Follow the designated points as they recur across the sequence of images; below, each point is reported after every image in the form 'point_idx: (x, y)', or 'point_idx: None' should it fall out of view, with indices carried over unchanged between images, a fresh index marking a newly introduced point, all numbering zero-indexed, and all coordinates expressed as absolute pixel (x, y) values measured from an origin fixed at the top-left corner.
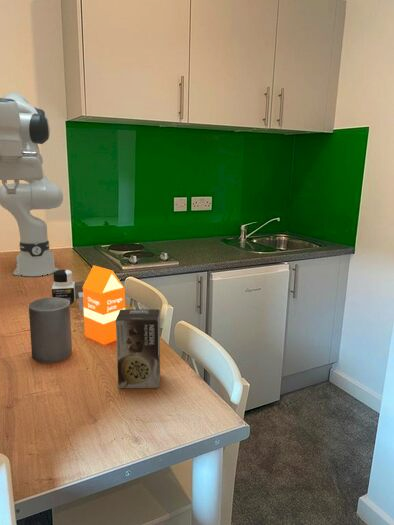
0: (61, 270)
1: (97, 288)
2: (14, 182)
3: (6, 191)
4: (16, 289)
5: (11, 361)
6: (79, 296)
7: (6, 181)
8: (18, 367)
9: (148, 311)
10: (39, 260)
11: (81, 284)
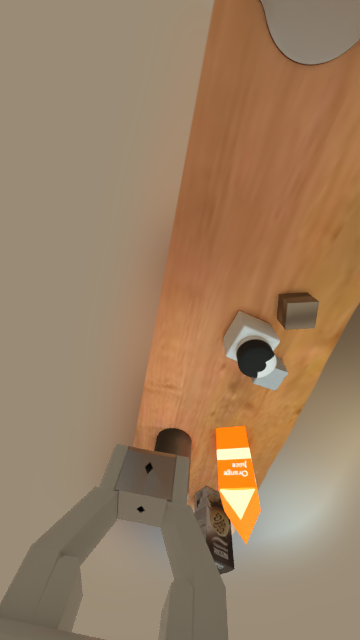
0: (257, 362)
1: (225, 509)
2: (165, 609)
3: (110, 461)
4: (206, 185)
5: (140, 433)
6: (255, 381)
7: (68, 625)
8: (144, 443)
9: (223, 567)
10: (343, 9)
11: (297, 327)
